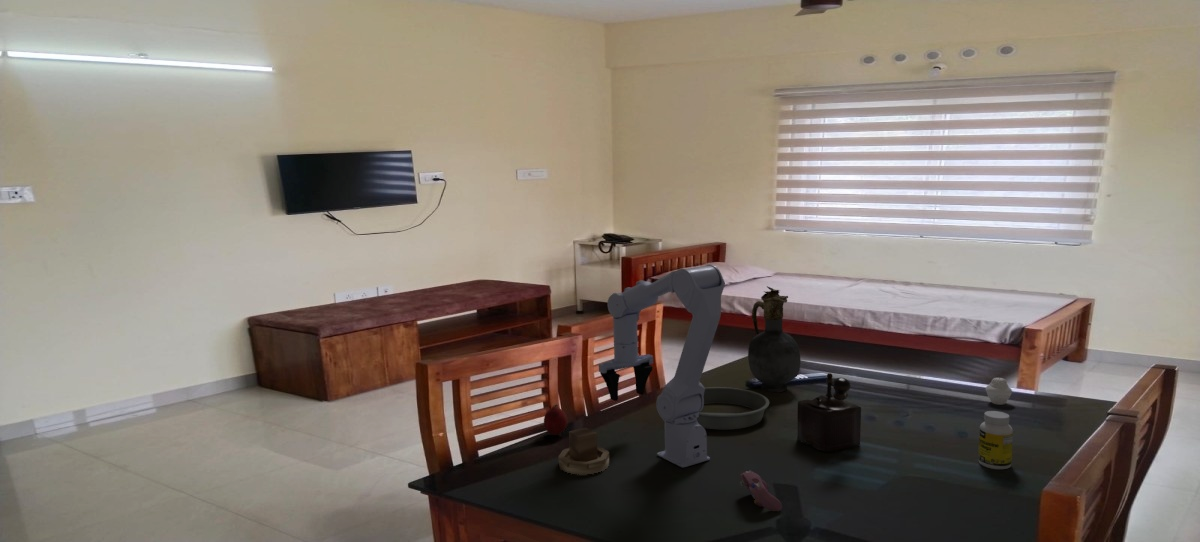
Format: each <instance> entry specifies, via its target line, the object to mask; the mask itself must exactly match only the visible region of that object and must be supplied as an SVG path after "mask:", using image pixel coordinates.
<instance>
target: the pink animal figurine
mask: <svg viewBox="0 0 1200 542" xmlns="http://www.w3.org/2000/svg"><path fill="white" fill-rule="evenodd" d="M739 475H740V479H741V480H740V482H739V483H740V485H741V486H742V487H746V488H747V490H748V491H749V493H750V495H751V496H752V499H753V502H754V504H755V505H757V506H758V507H759V508H760V507H764V508H765V509H767V510H769V511H772V512H775V511H777V512H781V510H782V508H783V505H782V502H781V501H780V500H779V499H778V498H777V497H775V496H774V495H773V494H771V493H770V492H769V491H768V489H769V486H768V484H767V483H766V481H765V480H763V479H762V478H761V476H760V475H759V474H758V473H756V472H754V471H752V470H751V469H749V471H747V470H746V471H744V472H742V473H741V474H739ZM754 499H755V500H754Z"/></svg>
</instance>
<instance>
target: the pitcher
mask: <svg viewBox="0 0 1200 542" xmlns="http://www.w3.org/2000/svg"><path fill="white" fill-rule="evenodd" d="M766 288H768V289H769V291H763V293H764V294H763V295H762V296H761V297H760V299H761V300H759V301H756V302H755V303H754V304H753V306H752V309H751V319H752V323H753V328H754V331H755V334H756V335H755V336H754V337H753V338H752V339H750V342H749V346H748V350H747V351H748V352H747V357H748V358H747V359H748V360H747V361H748V367H749V369H750V372H751V374H752V376H753V377H754V378H755V379H756V380H757V381H758V382H759V383H761V384H760V389H761V390H763V391H766V392H768V393H782V392H786V391H787V390H788V386H787V385H786V384H788V383H790V382H791V381H793V380H795V378H796V377H798V375H799V373H800V368H801V360H802V359H801V353H800V347H799V345H798V343H797V341H796V340H795V339H794V338H793V336H791V335H790V333H787V332H784V331H783V318H784V303H787V302H788V298H789V296H788V295H780V292H781V290H780V289H774V288H773V287H770V286H766ZM759 307H760V308H761V310H763V314H762V315H763V318H764V331H762V332H759V328H758V319H757V318H758V317H757V312H758V309H759Z"/></svg>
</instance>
